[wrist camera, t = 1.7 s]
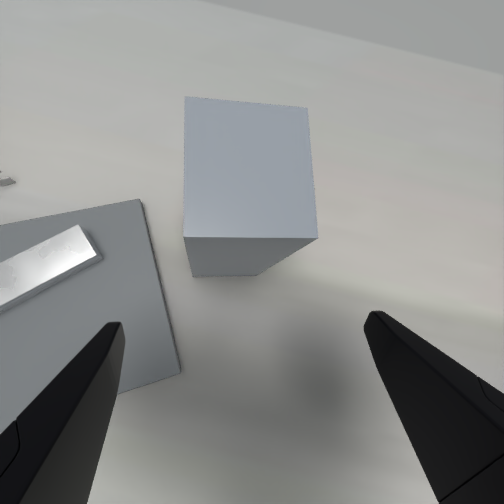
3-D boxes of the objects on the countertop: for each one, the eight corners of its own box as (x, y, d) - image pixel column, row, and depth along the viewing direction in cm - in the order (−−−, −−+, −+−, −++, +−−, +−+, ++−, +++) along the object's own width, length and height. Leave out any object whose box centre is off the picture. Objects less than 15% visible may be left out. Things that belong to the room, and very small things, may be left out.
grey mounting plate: (181, 370, 21) (178, 378, 18) (-128, 472, 17) (-184, 500, 14) (142, 203, 22) (134, 190, 20) (-145, 259, 18) (-197, 251, 16)
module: (256, 275, 23) (318, 238, 11) (192, 276, 22) (183, 237, 10) (253, 200, 24) (306, 91, 12) (192, 198, 23) (184, 78, 11)
